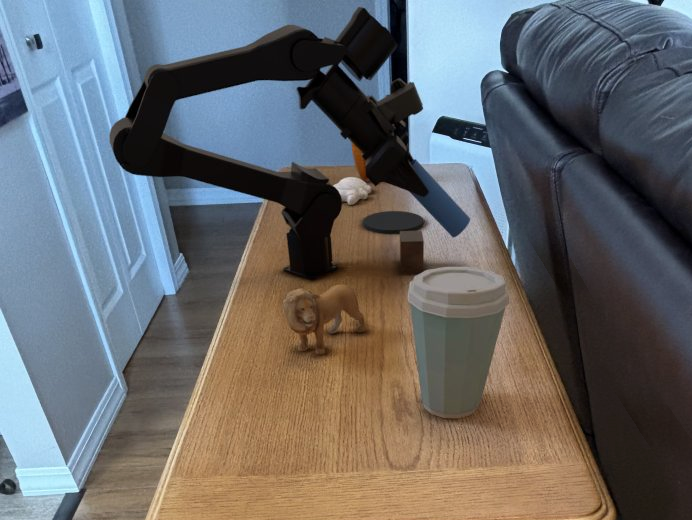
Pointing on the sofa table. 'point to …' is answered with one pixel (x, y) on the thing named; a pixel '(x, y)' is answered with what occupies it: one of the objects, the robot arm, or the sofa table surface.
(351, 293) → the lion figurine
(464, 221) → the tube
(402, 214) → the coaster
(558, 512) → the sofa table surface
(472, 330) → the disposable coffee cup
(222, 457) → the sofa table surface
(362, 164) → the carrot
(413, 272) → the lean block
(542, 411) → the sofa table surface
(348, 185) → the white turtle figurine
